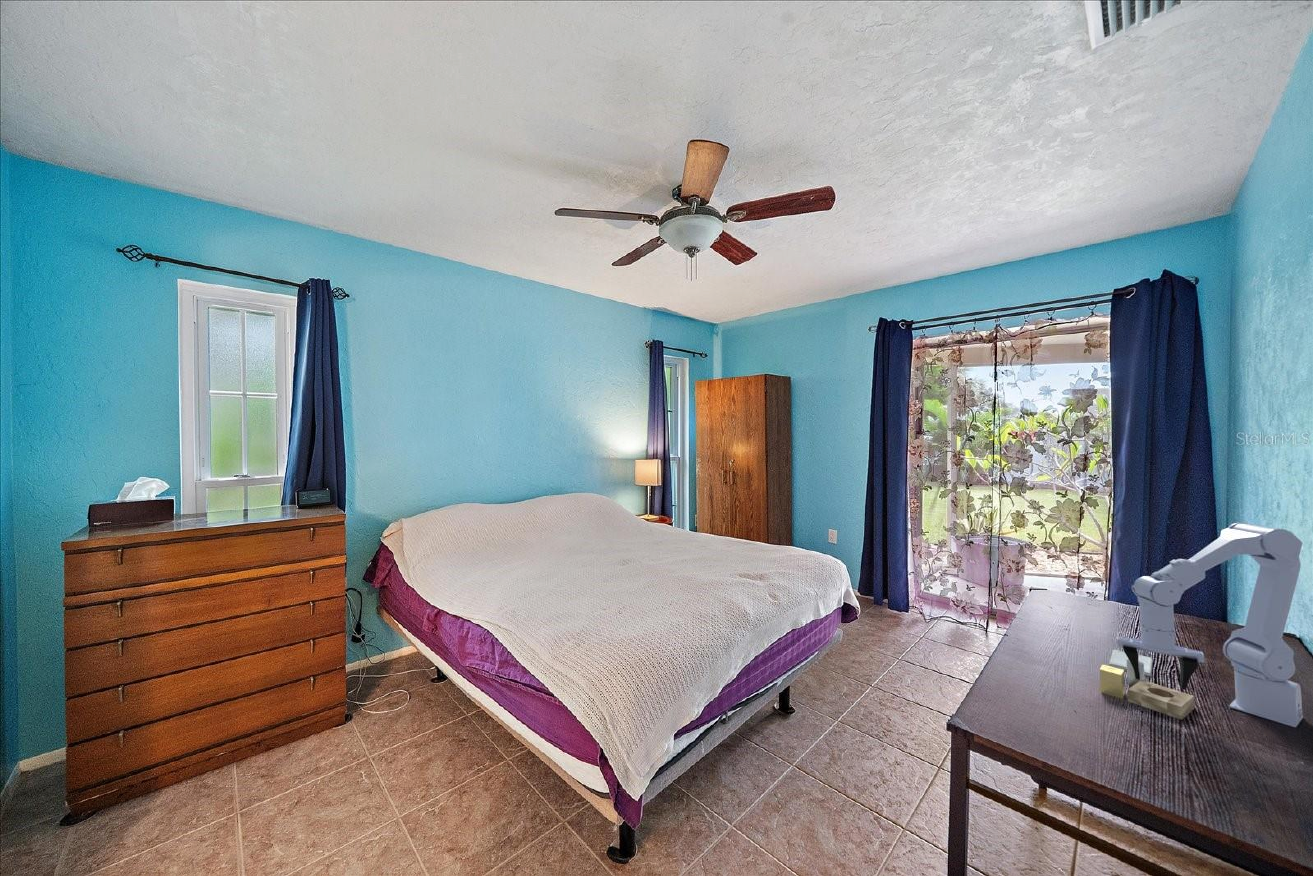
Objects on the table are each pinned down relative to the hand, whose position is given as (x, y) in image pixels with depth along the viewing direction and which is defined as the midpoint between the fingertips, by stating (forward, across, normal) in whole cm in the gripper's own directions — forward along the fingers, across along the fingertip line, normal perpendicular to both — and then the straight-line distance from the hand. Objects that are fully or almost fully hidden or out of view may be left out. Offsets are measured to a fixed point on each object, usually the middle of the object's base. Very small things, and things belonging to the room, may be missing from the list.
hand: (1159, 682), depth 113 cm
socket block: (+5, 0, 0) cm, 5 cm away
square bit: (+6, +8, 0) cm, 10 cm away
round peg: (+5, +3, -9) cm, 11 cm away
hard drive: (+6, +3, -24) cm, 25 cm away
